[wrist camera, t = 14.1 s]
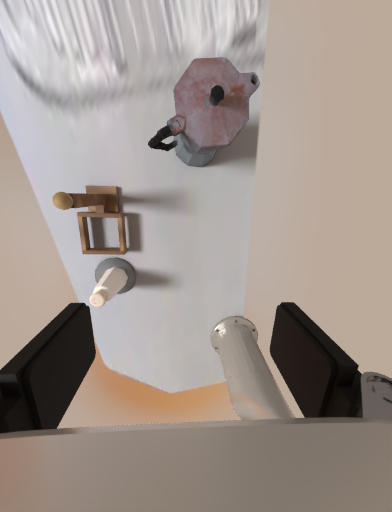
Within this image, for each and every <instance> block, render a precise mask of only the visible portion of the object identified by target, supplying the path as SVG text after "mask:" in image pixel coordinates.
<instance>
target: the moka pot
mask: <svg viewBox="0 0 392 512" xmlns="http://www.w3.org/2000/svg"><path fill="white" fill-rule="evenodd" d="M259 85H260V81H259V79H258V76H257V75H256V74H255V73H254V72H251V73H239V72H238V71H237V70H236V69H235V67H234V66H233V65H232V64H231V63H230V61H229V60H228V59H227V58H223V57H219V58H200V59H194V60H193V61H192V62H191V64H190V65H189V67H188V68H187V70H186V71H185V73H184V74H183V75H182V77H181V78H180V80H179V81H178V83H177V84H176V85H175V87H174V99H175V108H176V116H174V117H173V118H171V119H170V120H168V121H167V126H165V127H163V128H161V129H160V130H159V131H158V132H157V134H156V136H154V137H153V138H152V139H151V140H150V141H149V143H148V145H149V146H150V148H153V149H161V150H165V151H169V150H171V149H172V148H174V147H175V150H176V155H177V156H178V157H179V158H180V159H181V160H182V161H183V162H184V163H185V164H187V165H189V166H196V167H202V166H203V165H205V164H207V163H208V162H210V161H211V160H212V159H213V158H214V155H215V153H216V151H217V150H219V149H221V148H224V147H226V146H228V145H230V143H231V142H232V141H233V139H234V138H235V137H236V136H237V134H238V133H239V132H240V130H241V129H242V128H243V127H244V125H245V124H246V123H247V121H248V120H249V98H250V96H251V95H252V94H253V93H254V92H255V90H256V89H257V88H258V87H259ZM172 135H173V136H174V140H173V142H171V143H170V144H165V143H162V142H160V141H162V140H163V139H165V138H167V137H169V136H172Z"/></svg>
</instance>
